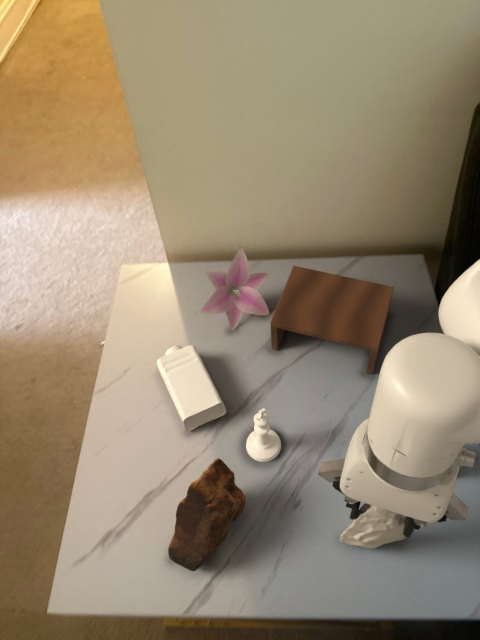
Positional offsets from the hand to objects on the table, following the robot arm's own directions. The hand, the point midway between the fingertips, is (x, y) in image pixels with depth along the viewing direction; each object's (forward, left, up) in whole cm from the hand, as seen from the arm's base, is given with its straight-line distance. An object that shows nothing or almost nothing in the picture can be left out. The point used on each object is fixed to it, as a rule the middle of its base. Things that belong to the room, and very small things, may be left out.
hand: (381, 514), depth 63 cm
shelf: (+13, -30, -10) cm, 34 cm away
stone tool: (0, 0, -10) cm, 10 cm away
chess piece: (+17, -8, -10) cm, 21 cm away
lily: (+29, -30, -10) cm, 43 cm away
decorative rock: (+20, +5, -10) cm, 23 cm away
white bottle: (+30, -13, -10) cm, 34 cm away
